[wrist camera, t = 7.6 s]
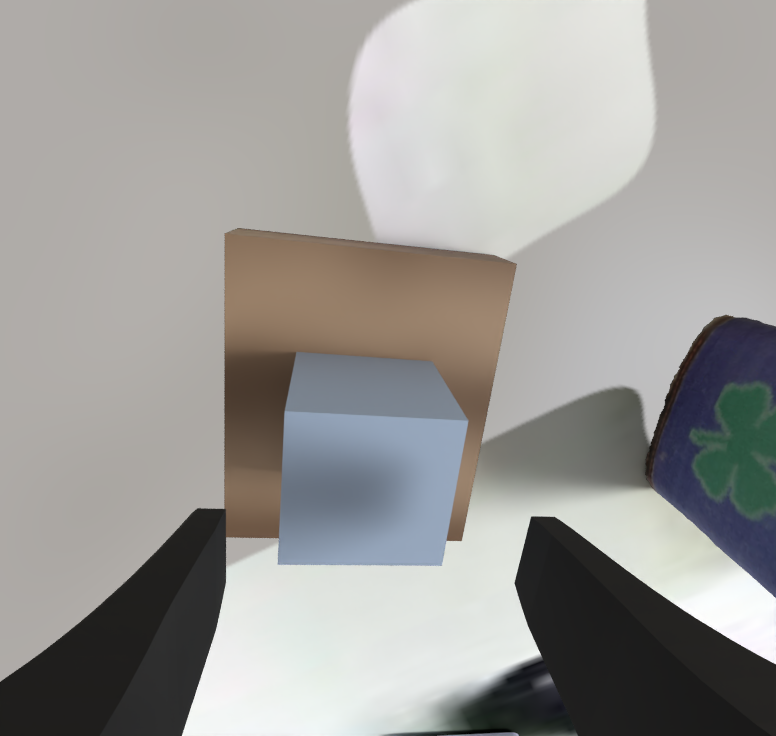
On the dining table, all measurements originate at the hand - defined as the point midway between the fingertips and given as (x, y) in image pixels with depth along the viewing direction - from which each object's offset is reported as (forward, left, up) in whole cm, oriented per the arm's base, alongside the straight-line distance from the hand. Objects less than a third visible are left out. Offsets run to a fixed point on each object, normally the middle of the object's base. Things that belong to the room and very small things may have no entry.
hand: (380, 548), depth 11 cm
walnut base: (0, 0, -10) cm, 10 cm away
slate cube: (0, 0, -8) cm, 8 cm away
